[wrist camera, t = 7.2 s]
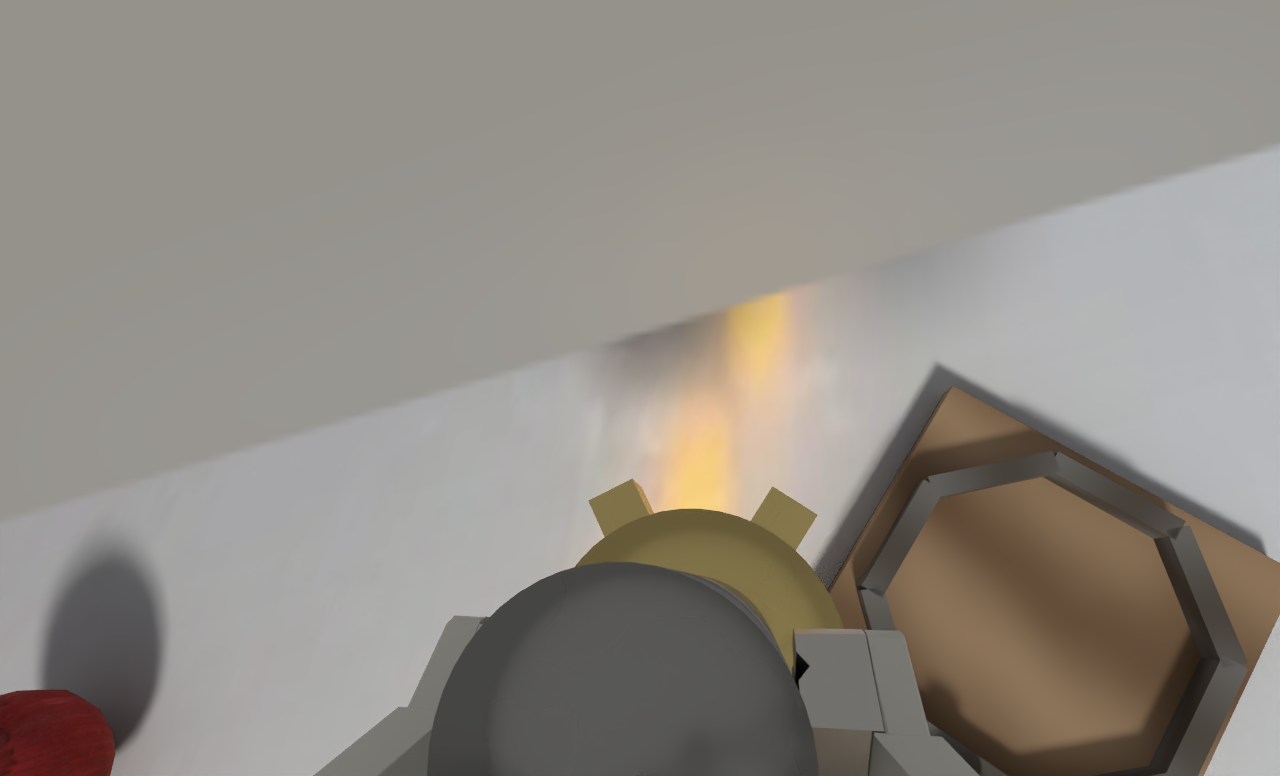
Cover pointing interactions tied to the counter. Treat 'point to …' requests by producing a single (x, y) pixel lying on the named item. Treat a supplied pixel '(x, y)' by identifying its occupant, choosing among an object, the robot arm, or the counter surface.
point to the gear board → (1056, 604)
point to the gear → (646, 654)
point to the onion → (53, 735)
